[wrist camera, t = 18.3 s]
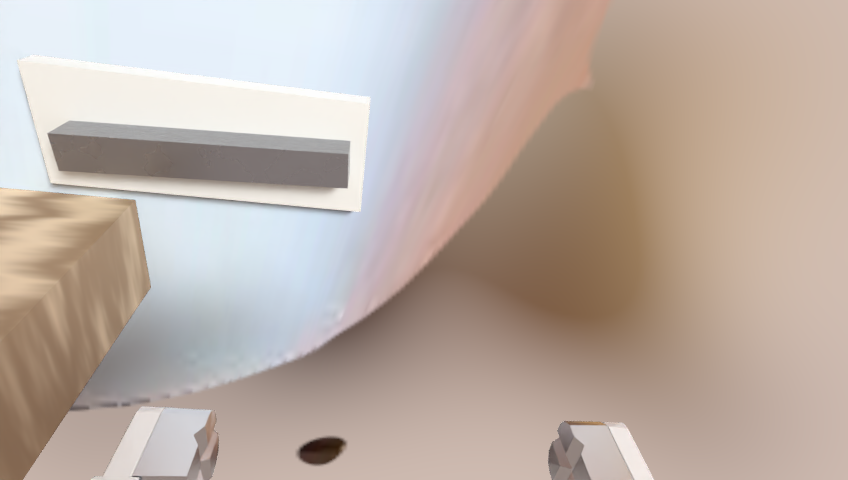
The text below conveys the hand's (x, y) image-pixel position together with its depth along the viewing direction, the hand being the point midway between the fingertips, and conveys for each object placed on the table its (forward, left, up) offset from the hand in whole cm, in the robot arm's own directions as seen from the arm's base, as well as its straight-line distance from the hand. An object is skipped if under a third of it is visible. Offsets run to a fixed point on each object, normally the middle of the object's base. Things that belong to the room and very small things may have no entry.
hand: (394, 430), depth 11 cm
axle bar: (-9, -12, -32) cm, 35 cm away
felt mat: (-10, -12, -34) cm, 37 cm away
